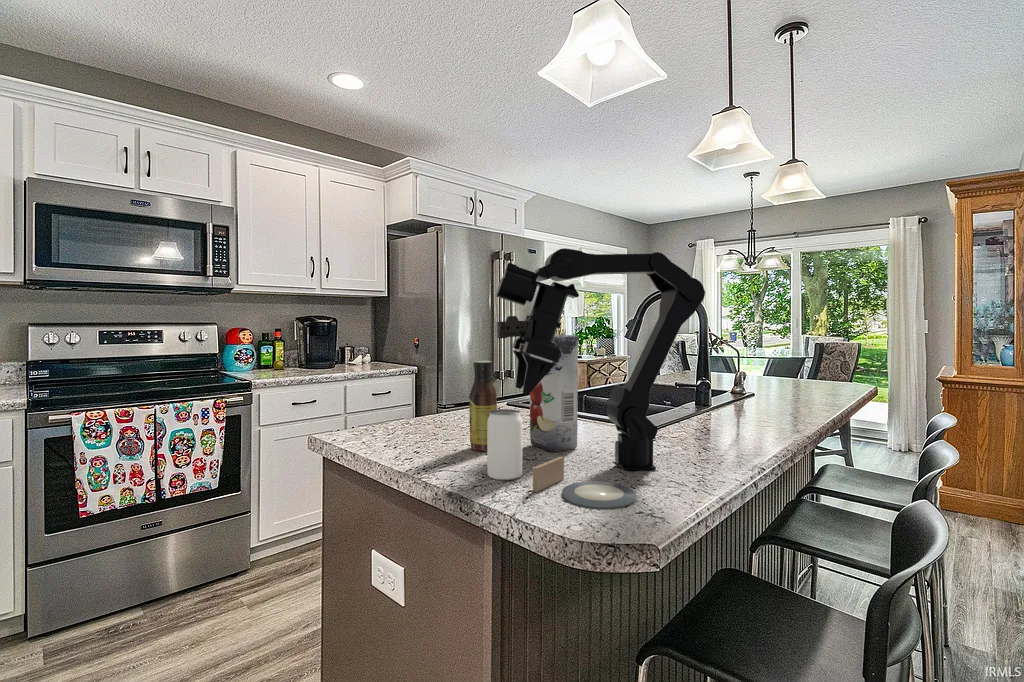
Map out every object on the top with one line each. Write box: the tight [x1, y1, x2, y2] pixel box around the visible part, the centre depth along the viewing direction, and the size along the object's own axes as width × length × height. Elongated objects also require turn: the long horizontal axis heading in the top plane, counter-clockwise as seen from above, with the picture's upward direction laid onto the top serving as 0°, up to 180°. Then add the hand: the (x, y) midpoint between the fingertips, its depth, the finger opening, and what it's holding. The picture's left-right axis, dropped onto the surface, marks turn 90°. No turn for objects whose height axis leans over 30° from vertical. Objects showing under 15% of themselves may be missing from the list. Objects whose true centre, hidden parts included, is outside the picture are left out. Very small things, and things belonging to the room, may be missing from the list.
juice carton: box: [529, 334, 580, 453], centre depth 119 cm, size 9×10×27 cm
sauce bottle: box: [468, 360, 498, 452], centre depth 117 cm, size 6×6×20 cm
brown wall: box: [532, 456, 565, 493], centre depth 91 cm, size 9×1×4 cm, turn 144°
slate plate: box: [561, 480, 637, 509], centre depth 86 cm, size 12×12×1 cm
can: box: [486, 408, 523, 481], centre depth 97 cm, size 6×6×12 cm
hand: (521, 391), depth 100 cm, fingers open, 9 cm apart
